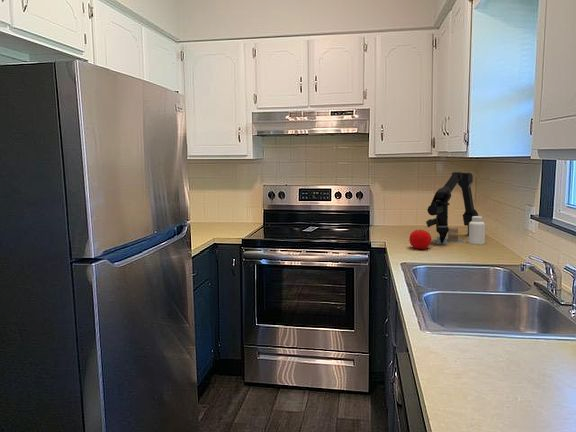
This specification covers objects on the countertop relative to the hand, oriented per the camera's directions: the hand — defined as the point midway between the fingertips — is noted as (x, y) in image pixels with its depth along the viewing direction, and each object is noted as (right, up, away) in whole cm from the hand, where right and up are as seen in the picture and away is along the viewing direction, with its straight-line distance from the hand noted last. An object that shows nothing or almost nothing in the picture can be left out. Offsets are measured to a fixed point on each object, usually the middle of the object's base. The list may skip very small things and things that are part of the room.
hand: (441, 242), depth 256 cm
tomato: (-15, -3, -11) cm, 19 cm away
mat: (+8, 0, +7) cm, 10 cm away
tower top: (+8, +4, +6) cm, 11 cm away
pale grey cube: (0, -1, 0) cm, 1 cm away
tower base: (+8, 0, +6) cm, 10 cm away
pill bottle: (+18, -1, -3) cm, 18 cm away
